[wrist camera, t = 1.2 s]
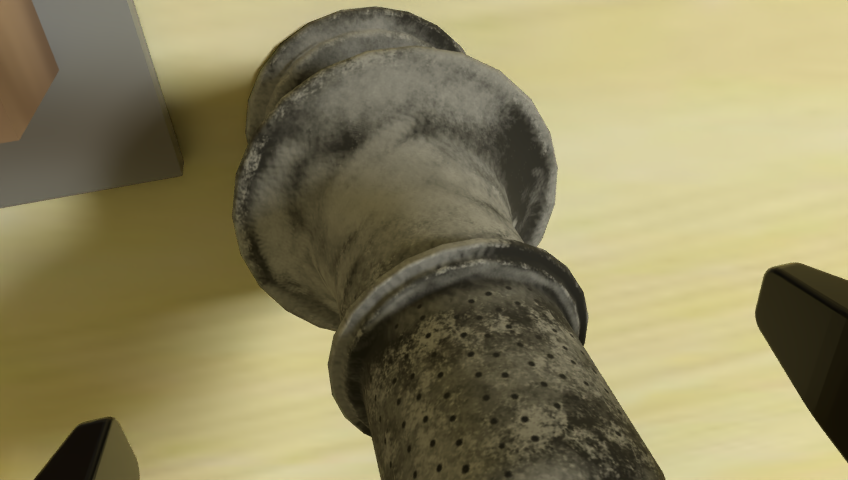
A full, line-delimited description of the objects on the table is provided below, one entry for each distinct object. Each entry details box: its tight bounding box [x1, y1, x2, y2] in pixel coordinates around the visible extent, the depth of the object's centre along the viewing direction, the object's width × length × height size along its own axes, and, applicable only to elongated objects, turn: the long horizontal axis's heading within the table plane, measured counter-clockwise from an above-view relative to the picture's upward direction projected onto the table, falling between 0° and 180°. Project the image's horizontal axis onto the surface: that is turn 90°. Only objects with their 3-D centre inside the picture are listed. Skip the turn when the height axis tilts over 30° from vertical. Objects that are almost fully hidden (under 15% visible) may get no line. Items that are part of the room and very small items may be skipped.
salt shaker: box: [232, 7, 665, 480], centre depth 10 cm, size 6×6×12 cm
